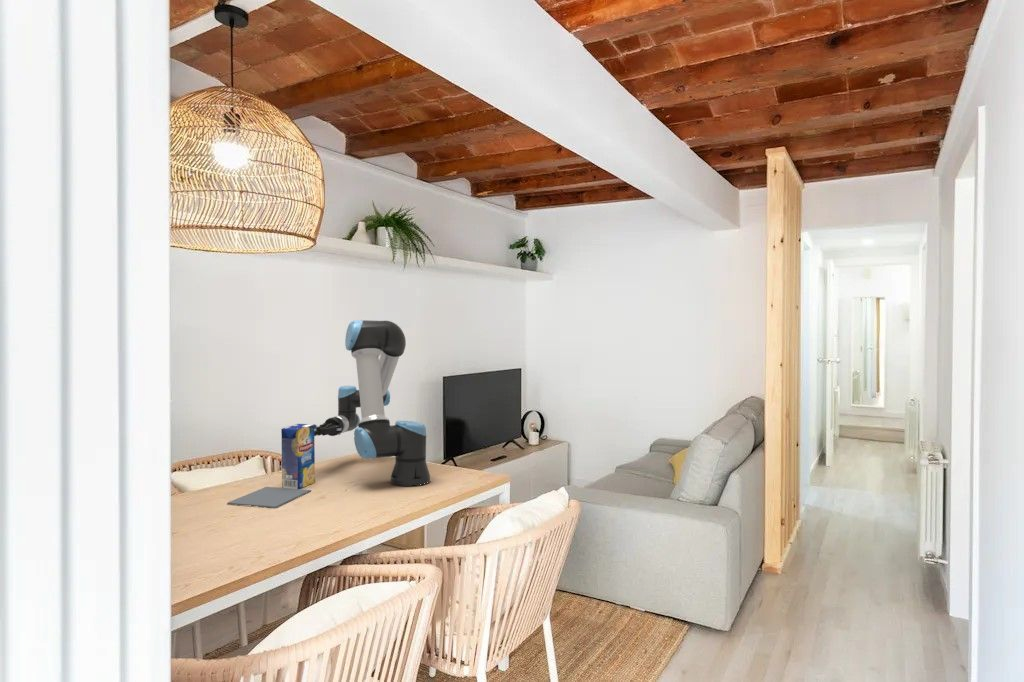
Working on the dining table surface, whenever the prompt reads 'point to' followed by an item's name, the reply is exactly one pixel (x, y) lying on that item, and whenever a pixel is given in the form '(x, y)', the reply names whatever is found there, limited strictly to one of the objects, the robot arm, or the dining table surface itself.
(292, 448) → the blue cracker box
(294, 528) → the dining table surface
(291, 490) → the mat
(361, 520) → the dining table surface
